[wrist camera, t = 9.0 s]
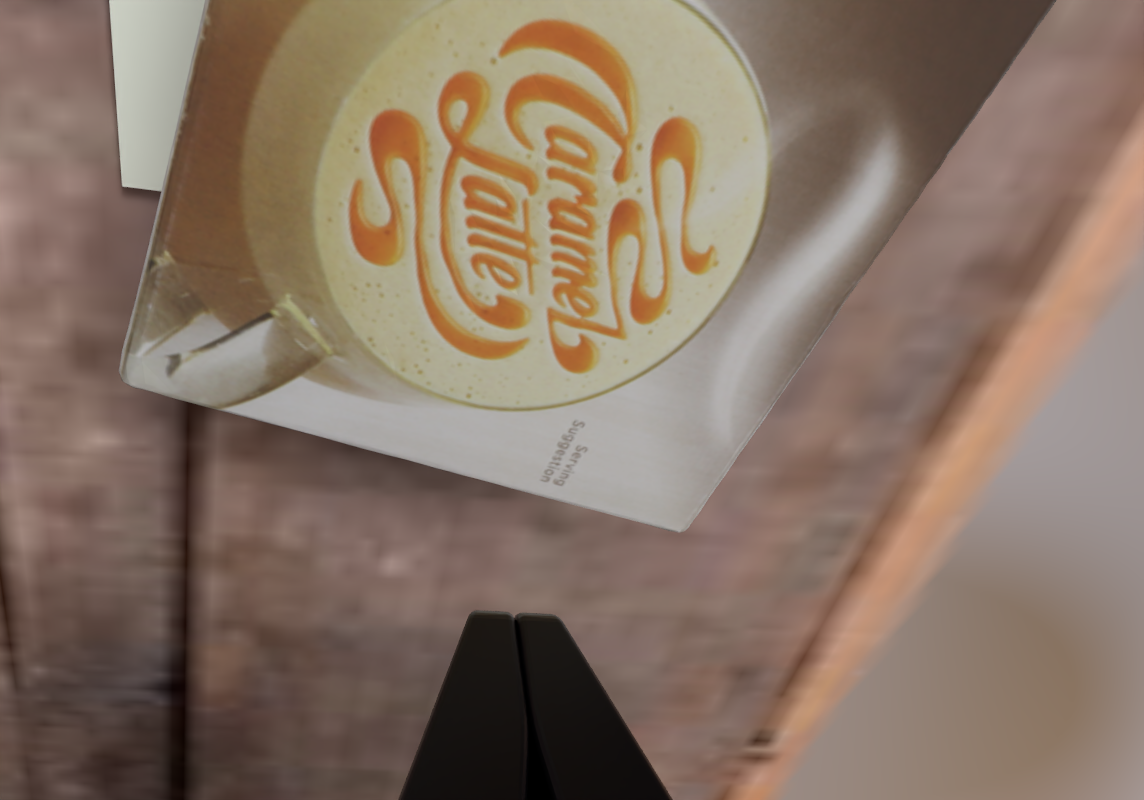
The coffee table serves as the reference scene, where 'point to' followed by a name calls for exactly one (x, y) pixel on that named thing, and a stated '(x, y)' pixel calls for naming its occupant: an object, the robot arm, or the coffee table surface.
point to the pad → (150, 81)
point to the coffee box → (543, 220)
